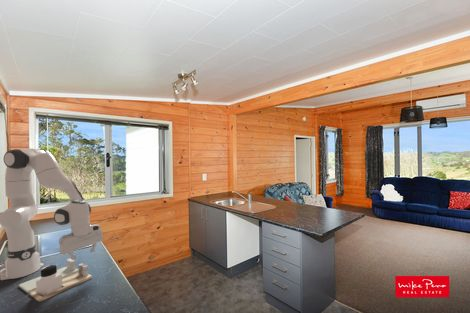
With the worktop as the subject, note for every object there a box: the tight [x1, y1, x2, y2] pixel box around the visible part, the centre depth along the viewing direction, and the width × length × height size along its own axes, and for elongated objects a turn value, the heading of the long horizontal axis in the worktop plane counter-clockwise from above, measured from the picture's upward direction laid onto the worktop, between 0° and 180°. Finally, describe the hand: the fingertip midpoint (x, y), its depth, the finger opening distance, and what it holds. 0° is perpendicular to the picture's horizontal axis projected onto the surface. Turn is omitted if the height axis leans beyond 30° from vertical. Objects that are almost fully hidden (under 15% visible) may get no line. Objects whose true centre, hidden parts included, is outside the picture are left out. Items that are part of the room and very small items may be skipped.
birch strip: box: [28, 263, 93, 303], centre depth 117 cm, size 12×22×6 cm, turn 148°
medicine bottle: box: [36, 264, 62, 297], centre depth 112 cm, size 7×7×12 cm
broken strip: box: [18, 257, 79, 294], centre depth 124 cm, size 12×22×6 cm, turn 148°
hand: (83, 255), depth 125 cm, fingers open, 8 cm apart
